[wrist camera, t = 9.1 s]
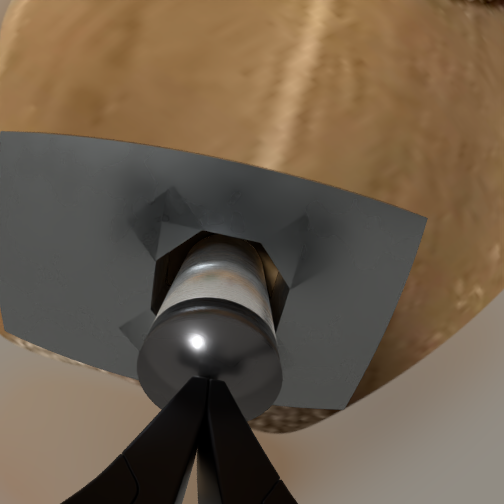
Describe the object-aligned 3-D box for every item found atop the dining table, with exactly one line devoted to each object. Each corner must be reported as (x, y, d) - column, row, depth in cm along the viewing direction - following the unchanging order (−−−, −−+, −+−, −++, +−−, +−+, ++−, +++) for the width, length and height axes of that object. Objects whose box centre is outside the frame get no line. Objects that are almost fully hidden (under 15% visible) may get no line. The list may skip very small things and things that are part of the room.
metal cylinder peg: (271, 243, 15) (302, 336, 7) (252, 314, 16) (261, 434, 8) (190, 226, 14) (139, 303, 7) (178, 299, 16) (136, 411, 8)
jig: (397, 206, 14) (427, 218, 12) (331, 377, 18) (343, 409, 15) (34, 131, 12) (0, 131, 10) (29, 308, 16) (4, 330, 13)
